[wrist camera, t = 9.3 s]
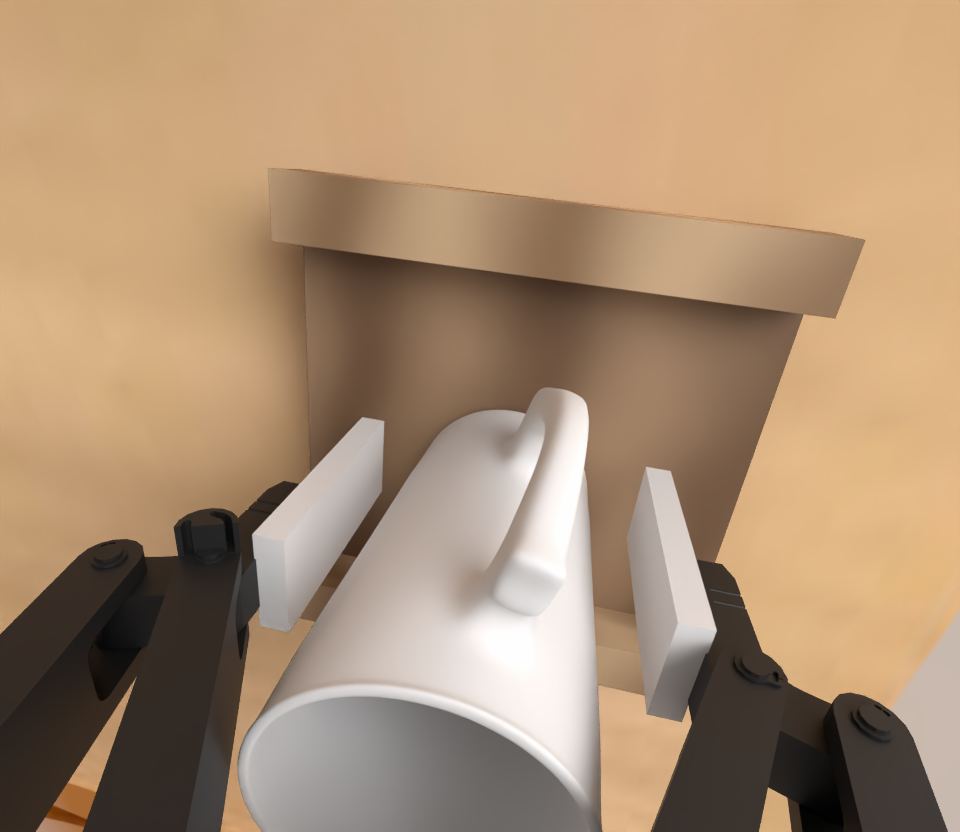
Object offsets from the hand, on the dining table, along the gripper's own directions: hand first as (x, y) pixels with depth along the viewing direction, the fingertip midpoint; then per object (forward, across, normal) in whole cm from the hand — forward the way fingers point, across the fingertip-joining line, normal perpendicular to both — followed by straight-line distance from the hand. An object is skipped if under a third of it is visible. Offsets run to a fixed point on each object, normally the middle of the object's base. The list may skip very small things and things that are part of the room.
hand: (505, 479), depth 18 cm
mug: (+3, 0, 0) cm, 3 cm away
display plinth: (+5, 0, 0) cm, 5 cm away
